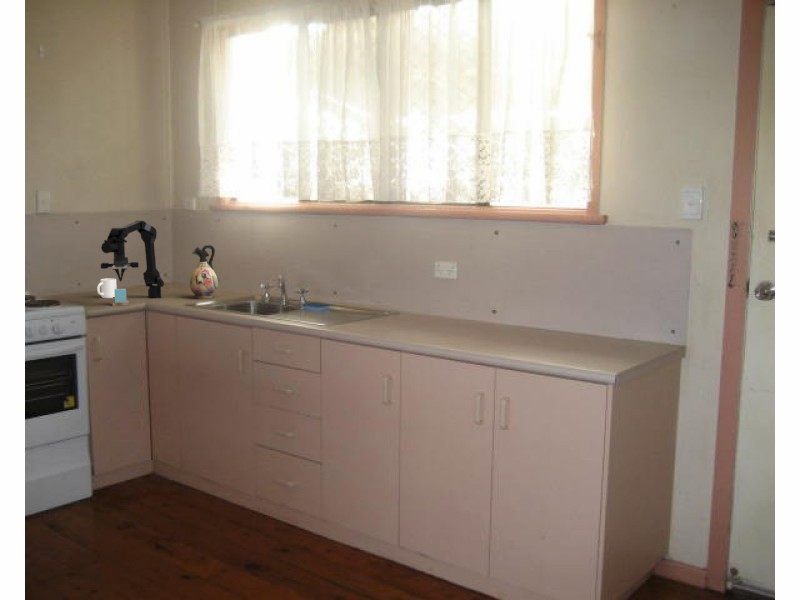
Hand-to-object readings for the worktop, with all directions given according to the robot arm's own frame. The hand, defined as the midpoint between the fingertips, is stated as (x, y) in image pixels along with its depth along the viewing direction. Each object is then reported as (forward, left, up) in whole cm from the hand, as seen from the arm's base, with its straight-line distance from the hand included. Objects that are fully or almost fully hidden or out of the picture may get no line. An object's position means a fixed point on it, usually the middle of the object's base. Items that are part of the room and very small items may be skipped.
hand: (120, 281), depth 421 cm
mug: (+8, -29, -13) cm, 33 cm away
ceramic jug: (-45, -13, -13) cm, 48 cm away
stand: (0, +1, -12) cm, 12 cm away
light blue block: (0, +1, -11) cm, 11 cm away
